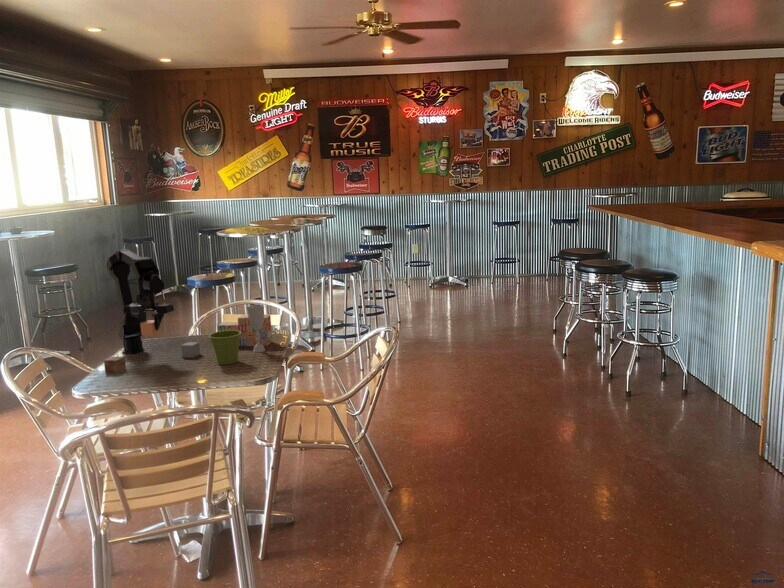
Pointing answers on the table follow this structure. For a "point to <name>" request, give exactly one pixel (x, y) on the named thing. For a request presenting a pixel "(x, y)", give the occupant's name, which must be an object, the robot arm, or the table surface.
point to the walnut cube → (115, 364)
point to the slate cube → (190, 349)
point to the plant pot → (226, 346)
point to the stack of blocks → (249, 331)
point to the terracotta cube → (149, 328)
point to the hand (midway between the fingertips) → (150, 330)
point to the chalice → (256, 323)
